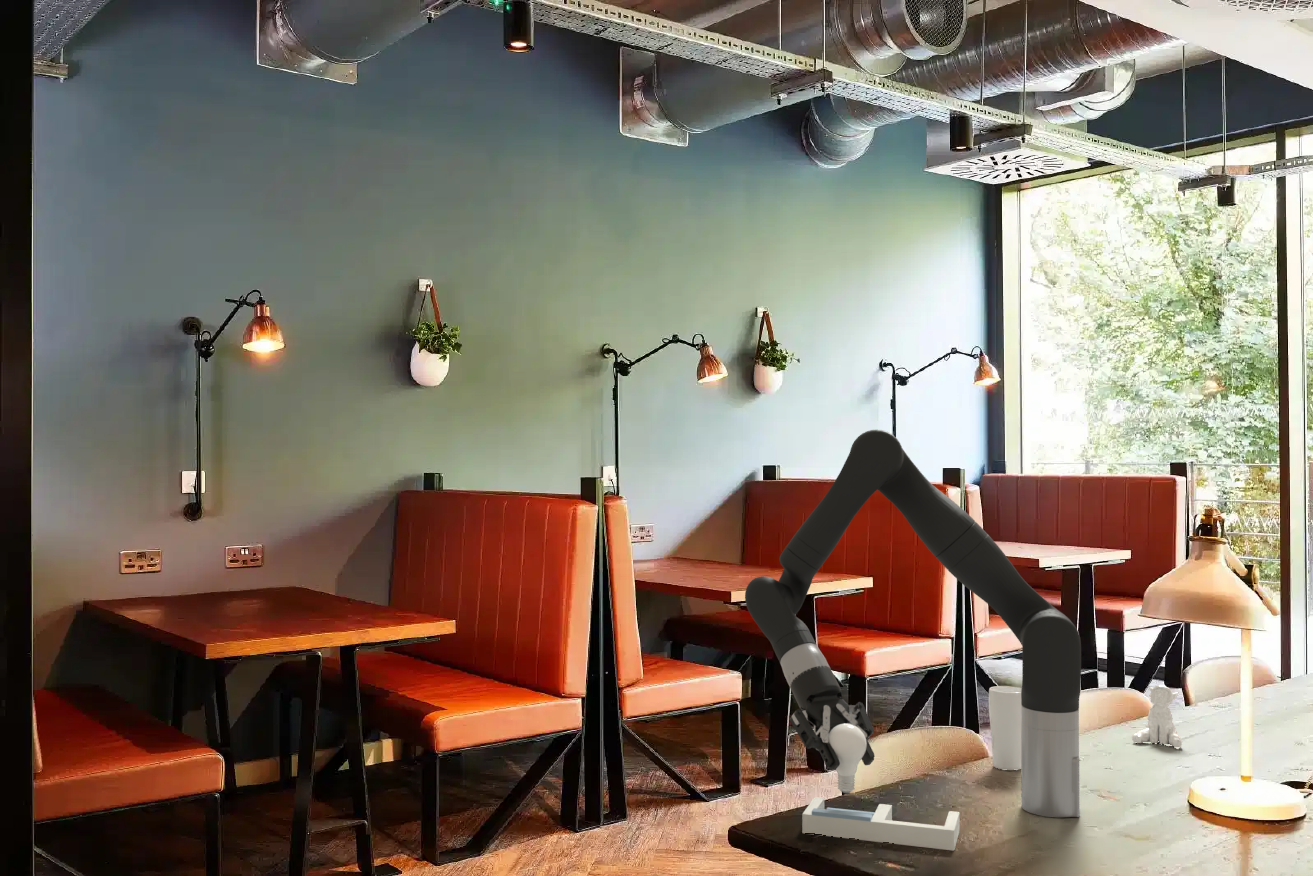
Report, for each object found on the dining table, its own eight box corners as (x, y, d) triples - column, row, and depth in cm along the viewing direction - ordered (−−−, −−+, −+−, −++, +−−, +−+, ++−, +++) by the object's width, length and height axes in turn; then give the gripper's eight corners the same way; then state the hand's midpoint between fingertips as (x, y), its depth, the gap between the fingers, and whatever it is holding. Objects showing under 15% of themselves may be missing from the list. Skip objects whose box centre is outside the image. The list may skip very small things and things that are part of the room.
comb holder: (960, 829, 183) (960, 806, 183) (954, 850, 173) (954, 826, 173) (816, 813, 190) (816, 791, 190) (802, 833, 180) (802, 810, 180)
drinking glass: (1027, 774, 215) (1027, 693, 215) (990, 771, 216) (990, 692, 217) (1023, 764, 222) (1023, 686, 222) (987, 762, 223) (987, 685, 223)
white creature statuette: (1131, 744, 238) (1131, 686, 239) (1138, 735, 246) (1138, 679, 246) (1181, 750, 233) (1180, 691, 234) (1186, 741, 241) (1186, 684, 241)
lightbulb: (841, 800, 180) (842, 730, 180) (818, 789, 185) (818, 721, 185) (874, 795, 183) (875, 726, 183) (849, 784, 188) (850, 717, 188)
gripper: (783, 667, 187) (827, 757, 177) (854, 661, 194) (899, 747, 184) (765, 694, 192) (806, 783, 181) (834, 686, 199) (877, 772, 188)
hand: (853, 764), depth 183 cm, fingers closed on lightbulb, 6 cm apart
